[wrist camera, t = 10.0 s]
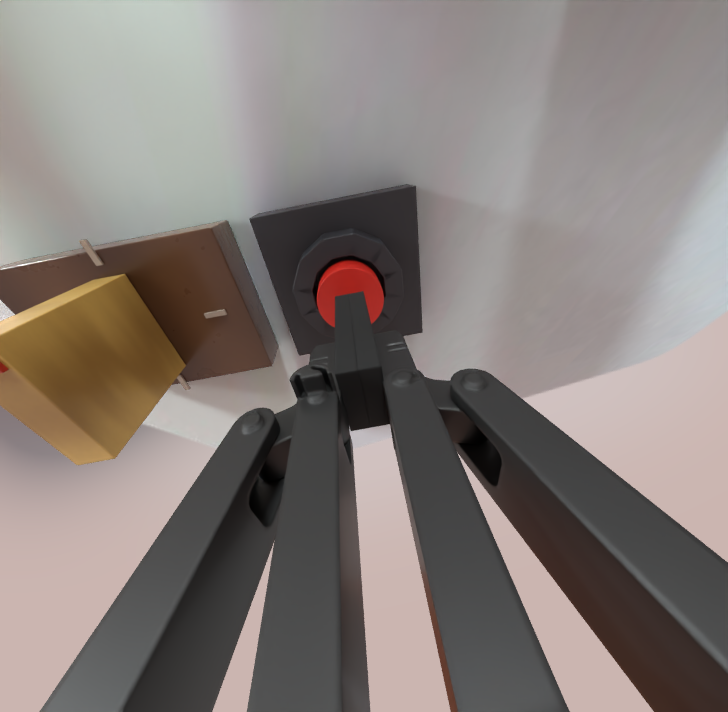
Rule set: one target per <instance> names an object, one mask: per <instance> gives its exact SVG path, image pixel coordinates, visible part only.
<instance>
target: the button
mask: <svg viewBox="0 0 728 712" xmlns="http://www.w3.org/2000/svg"><path fill="white" fill-rule="evenodd" d="M361 291H364V296H365V300H366V304H367V308H368V312H369V316H370V321H371V324H372V323H373V322H374V321H375V320H376V319H377V318H378V316H379V315H380V313H381V311H382V308H383V304H384V294H383V290H382V287H381V285H380V282H379V280H378V277H377V276H376V274H375V272H374V271H373V270H372V269H371V268H370V267H369V266H368V265H366V264H364V263H362V262H360V261H356V260H343V261H339V262H336V263H334V264H333V265H331V266H330V267H328V268H327V269H326V270H325V272H324V273H323V274H322V276H321V278H320V281H319V285H318V292H317V306H318V310H319V312H320V314H321V316H322V317H323V319H324V320H325V321H326V322H327V323H328V324H330V325H331V326H333V327H335V296H340V295H345V294H351V293H356V292H361Z"/></svg>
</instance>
